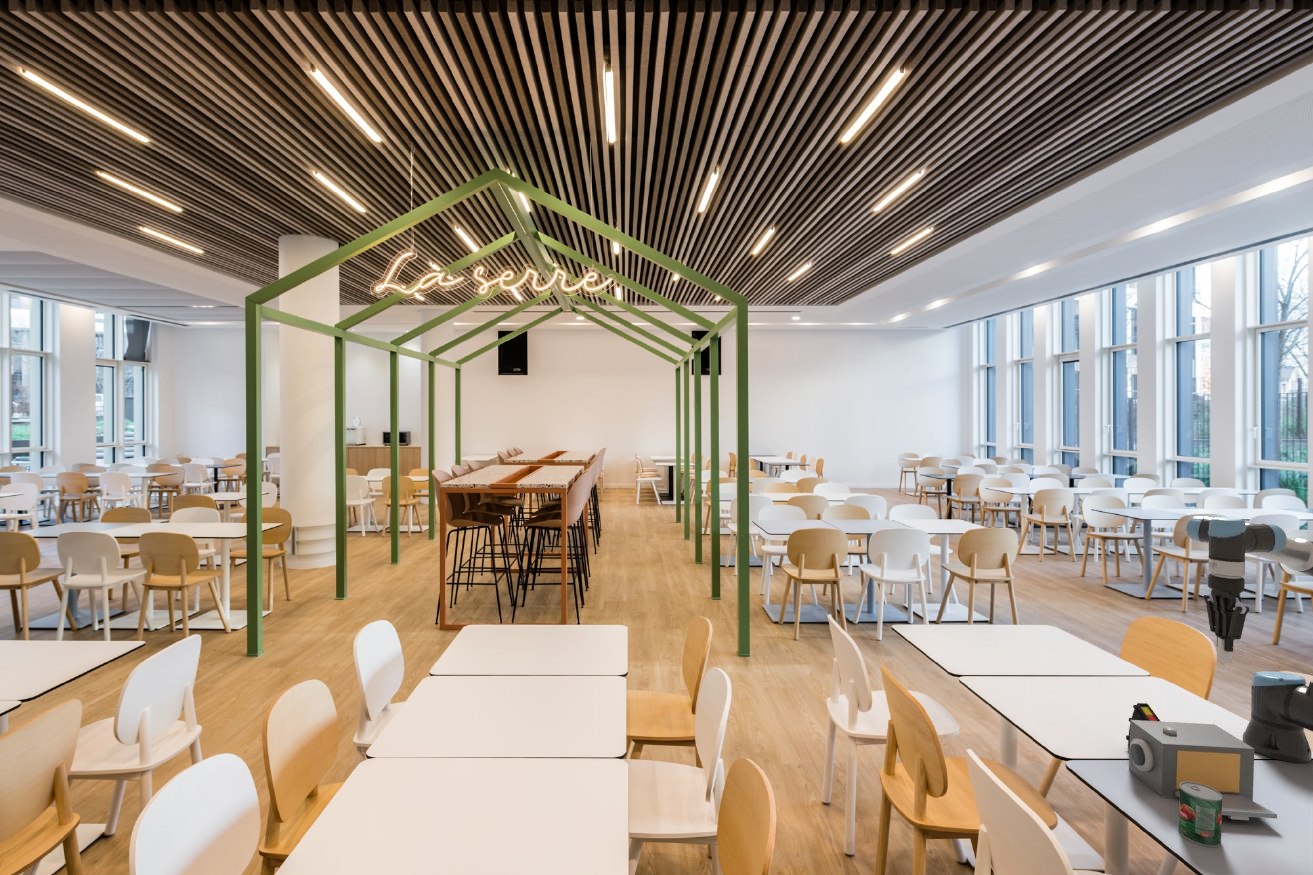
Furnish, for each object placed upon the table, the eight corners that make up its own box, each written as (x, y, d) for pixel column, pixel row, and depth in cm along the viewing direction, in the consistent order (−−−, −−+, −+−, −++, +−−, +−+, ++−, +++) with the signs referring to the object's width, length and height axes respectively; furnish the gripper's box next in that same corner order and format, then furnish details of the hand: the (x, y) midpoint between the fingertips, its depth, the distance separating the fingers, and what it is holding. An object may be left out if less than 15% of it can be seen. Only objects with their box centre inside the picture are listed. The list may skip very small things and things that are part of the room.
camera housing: (1213, 773, 186) (1214, 720, 185) (1253, 803, 171) (1255, 745, 171) (1120, 768, 188) (1121, 715, 188) (1152, 796, 174) (1154, 739, 174)
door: (1175, 790, 173) (1205, 809, 162) (1241, 795, 171) (1277, 814, 161) (1175, 799, 173) (1206, 818, 162) (1242, 803, 171) (1277, 822, 160)
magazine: (1132, 737, 203) (1147, 702, 197) (1158, 776, 192) (1176, 740, 185) (1119, 736, 204) (1134, 701, 197) (1145, 775, 192) (1162, 740, 185)
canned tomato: (1230, 846, 154) (1232, 799, 153) (1198, 847, 153) (1200, 800, 153) (1199, 825, 161) (1201, 780, 161) (1169, 826, 161) (1170, 781, 161)
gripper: (1193, 569, 186) (1192, 653, 187) (1230, 580, 173) (1228, 670, 174) (1222, 569, 186) (1220, 653, 186) (1260, 581, 173) (1259, 671, 173)
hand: (1224, 661), depth 180 cm, fingers closed
